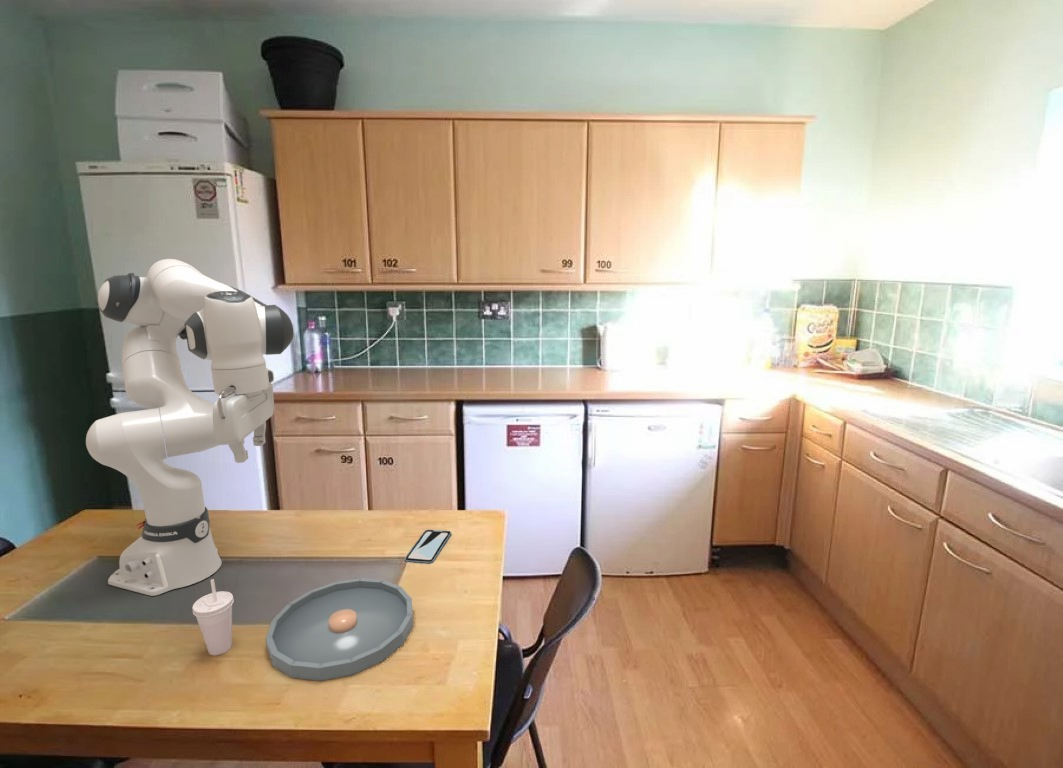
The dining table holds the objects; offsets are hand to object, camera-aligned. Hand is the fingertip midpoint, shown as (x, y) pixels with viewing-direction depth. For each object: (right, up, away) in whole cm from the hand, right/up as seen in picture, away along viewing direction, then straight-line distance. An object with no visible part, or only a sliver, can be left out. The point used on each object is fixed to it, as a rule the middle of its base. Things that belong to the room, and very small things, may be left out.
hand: (251, 452), depth 100 cm
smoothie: (-4, -36, -3) cm, 36 cm away
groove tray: (+17, -34, +2) cm, 38 cm away
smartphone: (+27, -28, +32) cm, 51 cm away
